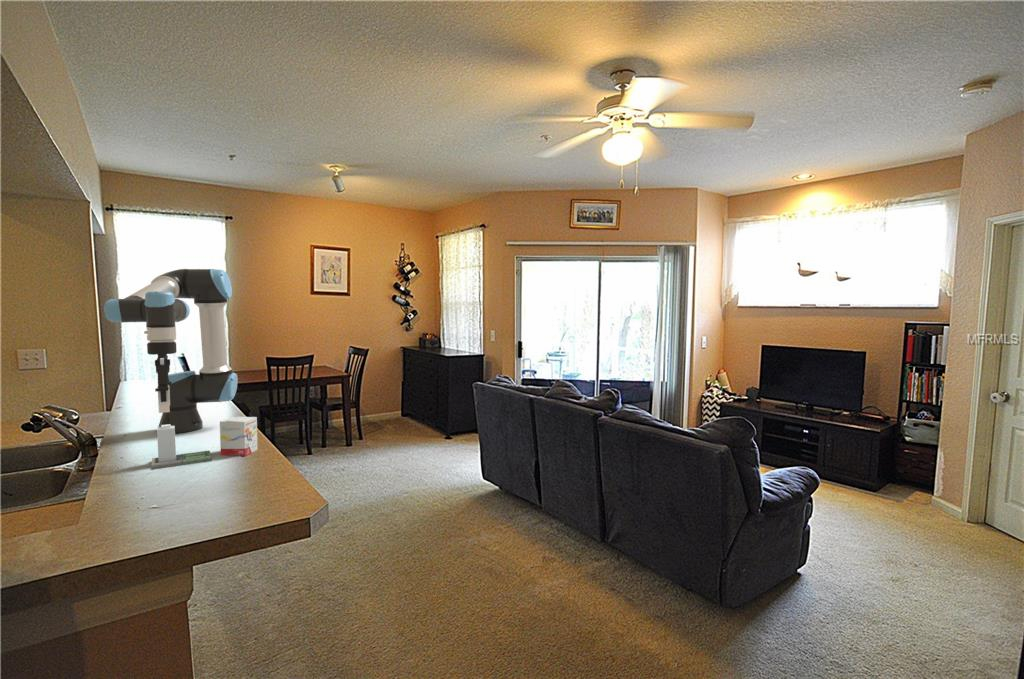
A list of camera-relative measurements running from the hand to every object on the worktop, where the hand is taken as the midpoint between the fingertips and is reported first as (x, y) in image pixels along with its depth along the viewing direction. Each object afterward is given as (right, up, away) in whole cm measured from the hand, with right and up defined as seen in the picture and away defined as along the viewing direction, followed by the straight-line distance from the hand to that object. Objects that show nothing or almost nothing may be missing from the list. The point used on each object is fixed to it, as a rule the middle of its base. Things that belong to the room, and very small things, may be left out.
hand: (164, 409), depth 161 cm
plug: (0, -17, +1) cm, 17 cm away
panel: (+3, -17, +3) cm, 18 cm away
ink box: (+17, -17, +13) cm, 27 cm away
